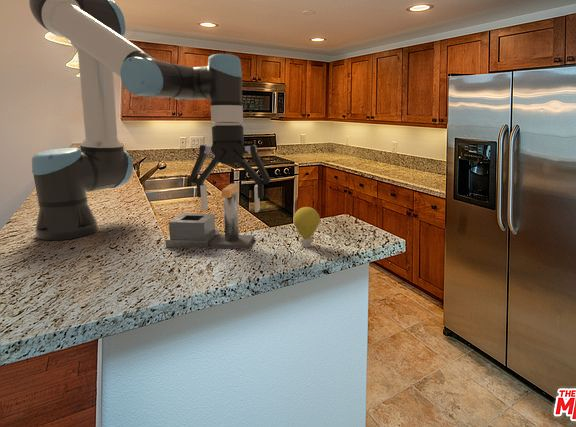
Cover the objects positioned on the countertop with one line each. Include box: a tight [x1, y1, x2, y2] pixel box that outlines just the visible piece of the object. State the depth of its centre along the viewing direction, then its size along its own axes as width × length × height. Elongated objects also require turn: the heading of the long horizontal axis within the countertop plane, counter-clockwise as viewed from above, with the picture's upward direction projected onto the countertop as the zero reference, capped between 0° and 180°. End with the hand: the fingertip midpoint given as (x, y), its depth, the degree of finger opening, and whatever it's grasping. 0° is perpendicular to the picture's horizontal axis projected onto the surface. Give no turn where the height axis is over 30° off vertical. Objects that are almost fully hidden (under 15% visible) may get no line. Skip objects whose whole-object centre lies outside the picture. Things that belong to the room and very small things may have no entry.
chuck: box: [164, 212, 221, 250], centre depth 95 cm, size 11×10×6 cm
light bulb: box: [292, 206, 321, 248], centre depth 92 cm, size 7×7×10 cm
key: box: [221, 183, 240, 242], centre depth 93 cm, size 9×4×14 cm, turn 174°
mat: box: [209, 233, 255, 250], centre depth 95 cm, size 10×8×1 cm
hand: (230, 210), depth 93 cm, fingers open, 13 cm apart
